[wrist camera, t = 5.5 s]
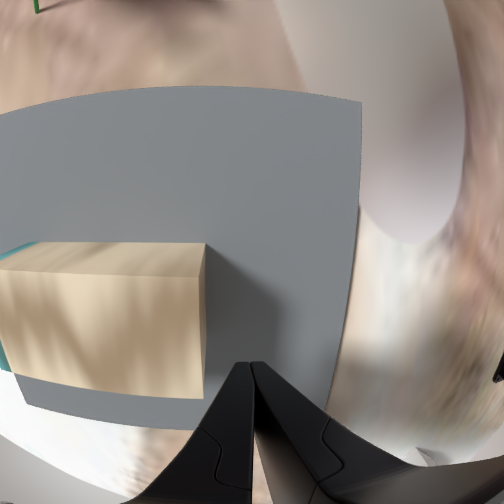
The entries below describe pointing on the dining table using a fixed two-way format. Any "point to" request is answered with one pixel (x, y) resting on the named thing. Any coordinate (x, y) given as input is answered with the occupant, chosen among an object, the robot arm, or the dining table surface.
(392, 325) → the dining table surface
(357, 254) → the dining table surface
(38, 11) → the lily
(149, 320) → the maple block
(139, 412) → the rubber mat
